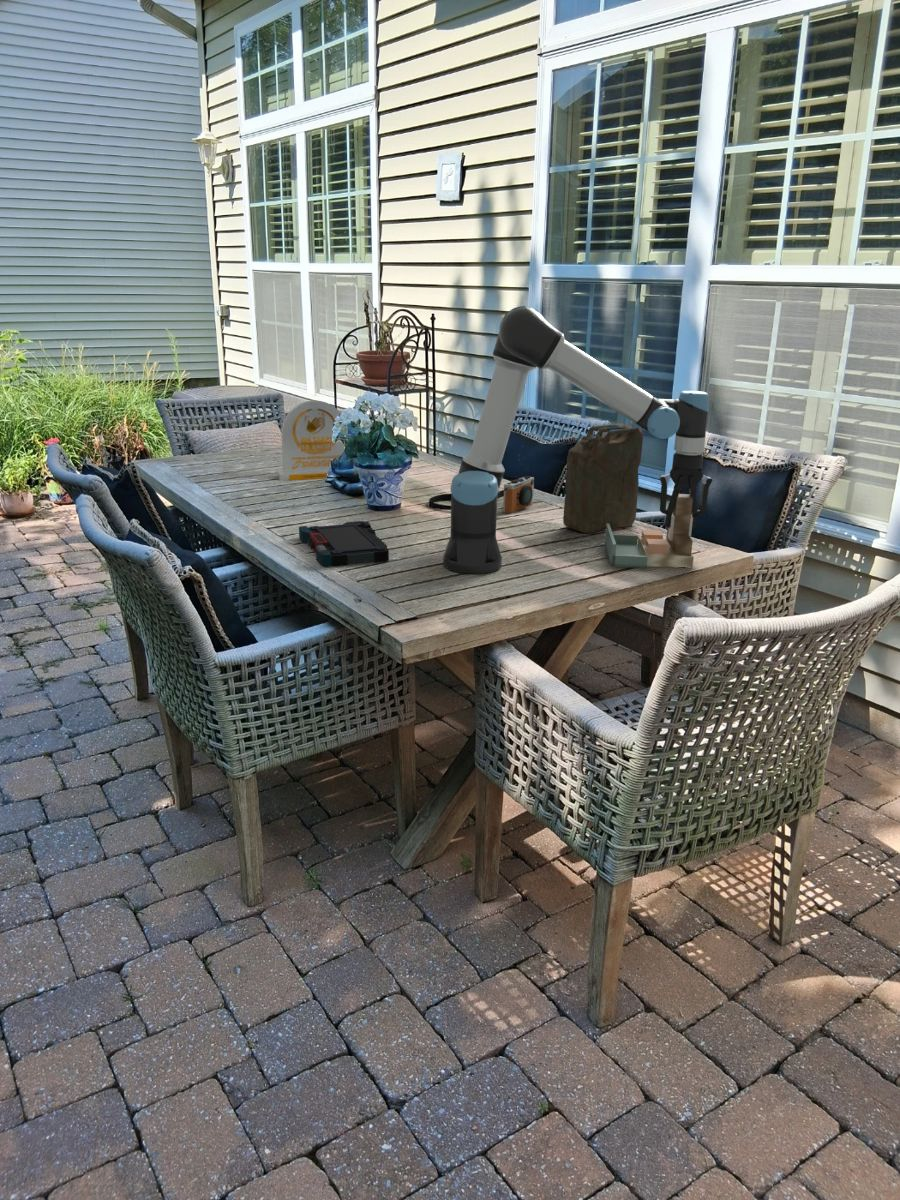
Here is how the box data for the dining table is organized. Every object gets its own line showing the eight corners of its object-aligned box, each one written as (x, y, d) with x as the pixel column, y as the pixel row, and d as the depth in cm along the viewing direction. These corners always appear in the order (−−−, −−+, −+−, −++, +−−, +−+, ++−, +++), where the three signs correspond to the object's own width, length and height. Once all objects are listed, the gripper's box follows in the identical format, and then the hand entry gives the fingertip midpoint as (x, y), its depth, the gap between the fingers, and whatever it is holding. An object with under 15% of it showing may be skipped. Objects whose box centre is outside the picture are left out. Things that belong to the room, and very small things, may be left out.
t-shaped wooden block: (675, 555, 231) (681, 502, 226) (666, 538, 246) (671, 488, 241) (690, 555, 231) (697, 503, 226) (680, 539, 246) (686, 489, 241)
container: (615, 518, 278) (624, 422, 268) (638, 526, 270) (647, 426, 260) (559, 527, 267) (565, 427, 257) (581, 535, 259) (588, 432, 249)
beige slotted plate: (645, 566, 232) (646, 555, 231) (637, 546, 249) (638, 536, 248) (692, 568, 231) (693, 557, 230) (681, 548, 248) (682, 538, 247)
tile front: (647, 553, 233) (648, 543, 232) (645, 547, 237) (646, 538, 236) (667, 553, 232) (668, 544, 231) (664, 548, 237) (665, 539, 236)
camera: (503, 521, 274) (504, 489, 270) (420, 508, 288) (421, 477, 285) (545, 502, 298) (546, 473, 295) (467, 490, 313) (467, 462, 309)
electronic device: (322, 570, 226) (322, 551, 224) (296, 537, 253) (296, 520, 251) (396, 562, 232) (396, 544, 231) (363, 532, 260) (363, 515, 258)
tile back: (643, 543, 241) (644, 534, 240) (641, 538, 246) (642, 529, 245) (662, 544, 241) (663, 535, 240) (659, 539, 245) (660, 530, 244)
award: (280, 480, 321) (276, 403, 312) (277, 475, 329) (273, 400, 319) (356, 477, 329) (355, 401, 320) (351, 472, 337) (350, 398, 328)
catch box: (611, 566, 231) (613, 544, 229) (604, 544, 251) (606, 523, 249) (646, 567, 230) (648, 545, 228) (636, 545, 250) (638, 524, 248)
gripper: (719, 450, 233) (708, 537, 241) (653, 448, 234) (645, 534, 242) (725, 456, 226) (714, 544, 234) (657, 453, 227) (648, 542, 235)
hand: (679, 539), depth 238 cm, fingers closed on t-shaped wooden block, 4 cm apart
